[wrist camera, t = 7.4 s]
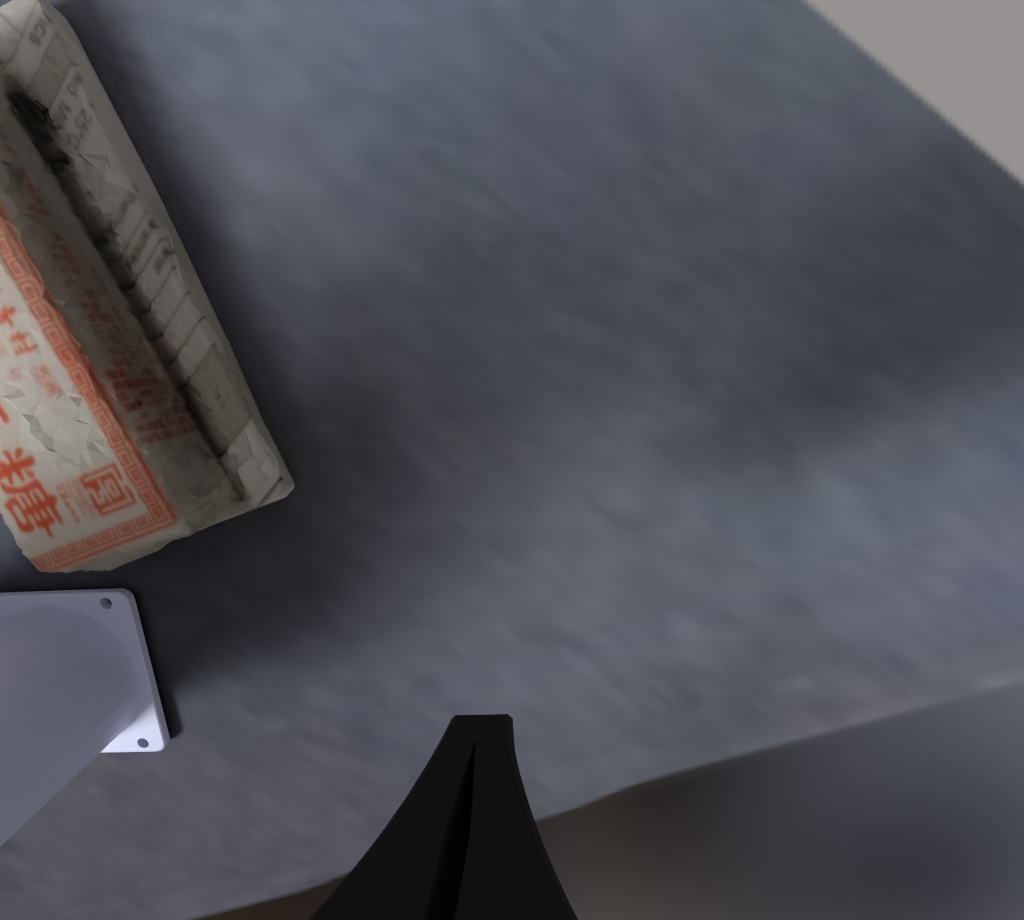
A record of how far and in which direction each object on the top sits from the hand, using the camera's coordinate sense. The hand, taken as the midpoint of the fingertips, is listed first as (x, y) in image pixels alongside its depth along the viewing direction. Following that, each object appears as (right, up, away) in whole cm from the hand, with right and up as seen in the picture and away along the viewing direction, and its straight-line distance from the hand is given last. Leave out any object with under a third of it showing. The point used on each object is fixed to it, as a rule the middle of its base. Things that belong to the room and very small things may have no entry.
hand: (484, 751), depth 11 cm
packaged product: (-16, +12, +8) cm, 21 cm away
